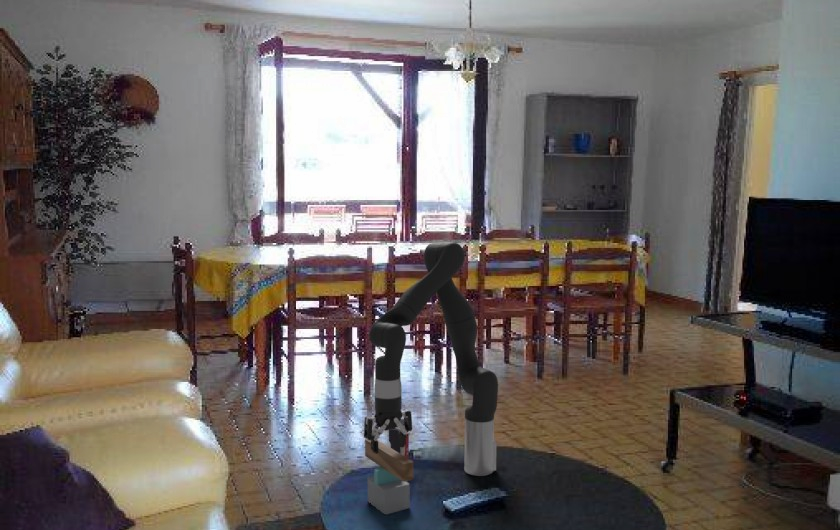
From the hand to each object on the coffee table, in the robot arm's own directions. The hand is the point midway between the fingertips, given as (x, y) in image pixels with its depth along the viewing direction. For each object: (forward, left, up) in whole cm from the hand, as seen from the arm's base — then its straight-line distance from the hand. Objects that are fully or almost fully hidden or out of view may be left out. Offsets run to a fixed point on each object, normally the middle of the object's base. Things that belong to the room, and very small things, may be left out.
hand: (388, 449), depth 202 cm
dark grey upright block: (-15, -20, -16) cm, 30 cm away
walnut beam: (0, 0, -5) cm, 5 cm away
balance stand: (0, 0, -16) cm, 16 cm away
